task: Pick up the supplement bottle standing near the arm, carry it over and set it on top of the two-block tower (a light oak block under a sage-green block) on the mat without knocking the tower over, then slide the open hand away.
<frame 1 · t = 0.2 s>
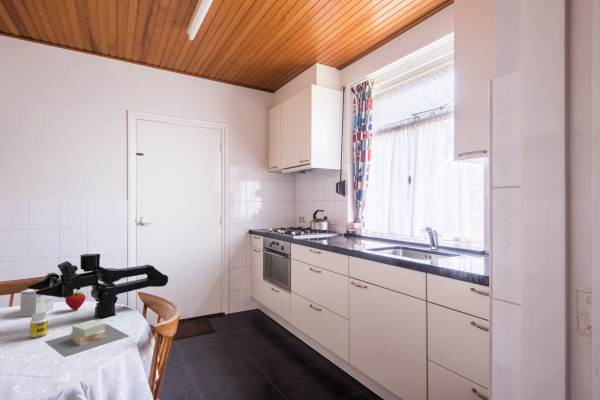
hand: (31, 290, 113), 17 cm above the table, tool horizontal, fingers open, 9 cm apart
tower bottom: (88, 338, 111), resting on mat, touching tower top
tower top: (88, 331, 111), point 3 cm above the table, touching tower bottom
strawberry: (75, 311, 140), on the table
light bulb box: (37, 312, 137), on the table
supplement bottle: (38, 338, 112), on the table
mat: (88, 340, 111), on the table
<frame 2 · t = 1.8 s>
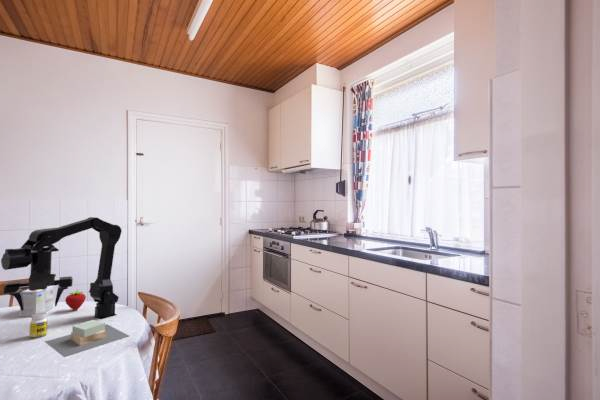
hand: (39, 308, 112), 10 cm above the table, tool pointing down, fingers open, 9 cm apart
nothing on the table moved.
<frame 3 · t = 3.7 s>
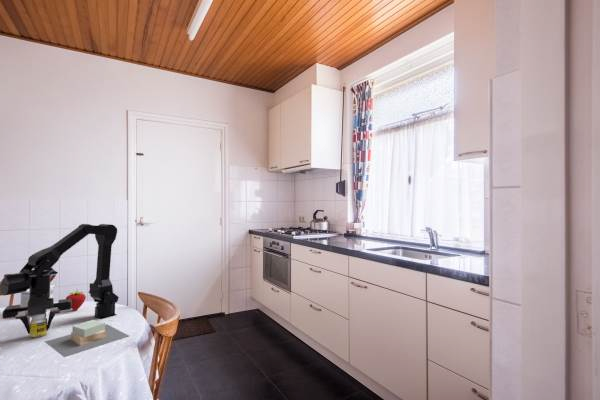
hand: (38, 331, 112), 2 cm above the table, tool pointing down, fingers closed on supplement bottle, 5 cm apart
supplement bottle: (38, 338, 112), on the table, touching gripper
everything else where it was.
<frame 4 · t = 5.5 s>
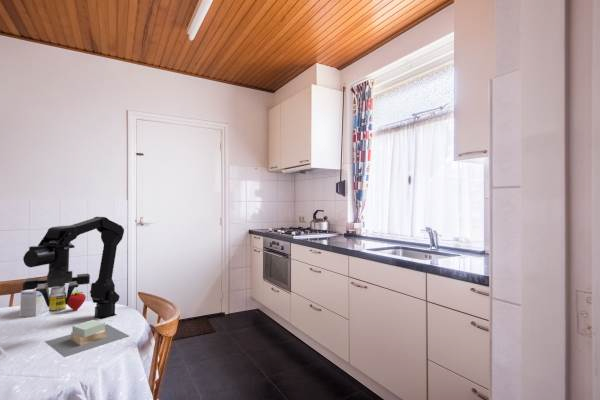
hand: (57, 305, 112), 12 cm above the table, tool pointing down, fingers closed on supplement bottle, 5 cm apart
supplement bottle: (57, 311, 112), point 10 cm above the table, touching gripper
everything else where it was.
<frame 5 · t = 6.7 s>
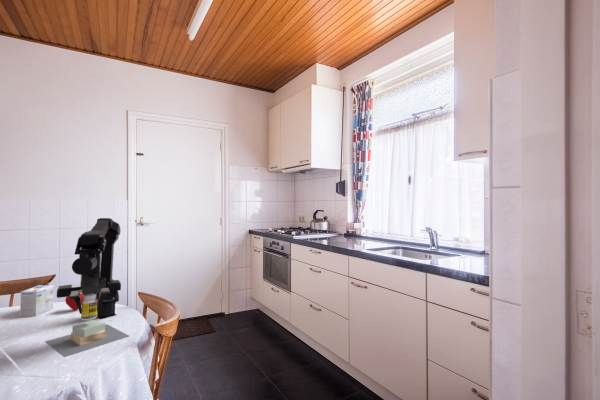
hand: (89, 312, 111), 10 cm above the table, tool pointing down, fingers closed on supplement bottle, 5 cm apart
supplement bottle: (89, 318, 111), point 8 cm above the table, touching gripper
everything else where it was.
when the fingers open (9 cm above the table, at t = 7.6 s): supplement bottle drops 1 cm, resting on tower top.
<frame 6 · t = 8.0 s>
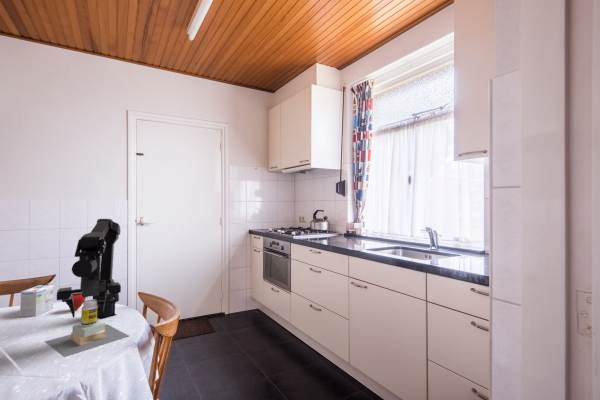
hand: (89, 314, 111), 9 cm above the table, tool pointing down, fingers open, 9 cm apart
tower top: (88, 331, 111), point 3 cm above the table, touching supplement bottle, tower bottom
supplement bottle: (89, 325, 111), point 5 cm above the table, touching tower top
everything else where it was.
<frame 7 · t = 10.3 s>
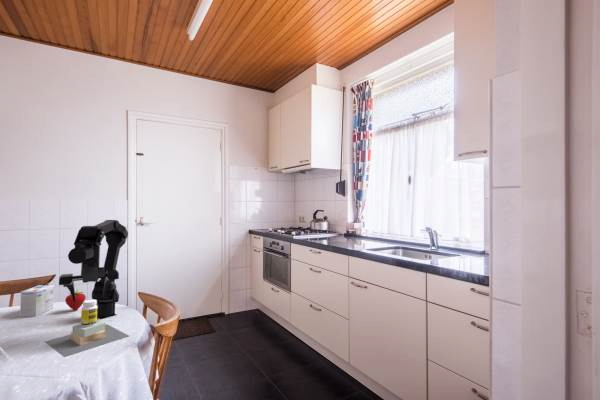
hand: (89, 299, 119), 12 cm above the table, tool pointing down, fingers open, 9 cm apart
nothing on the table moved.
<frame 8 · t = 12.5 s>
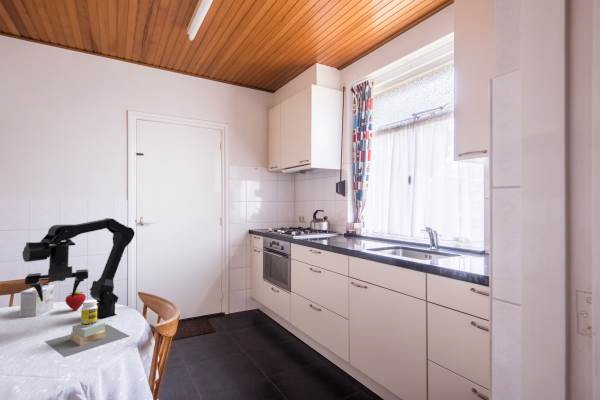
hand: (57, 299, 118), 12 cm above the table, tool pointing down, fingers open, 9 cm apart
nothing on the table moved.
at the end: supplement bottle 0.0 cm off-centre on the tower bottom, point 4.8 cm above the tower bottom's base; tower top tilted 0°; tower top 0.0 cm from the tower bottom (horizontally) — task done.
